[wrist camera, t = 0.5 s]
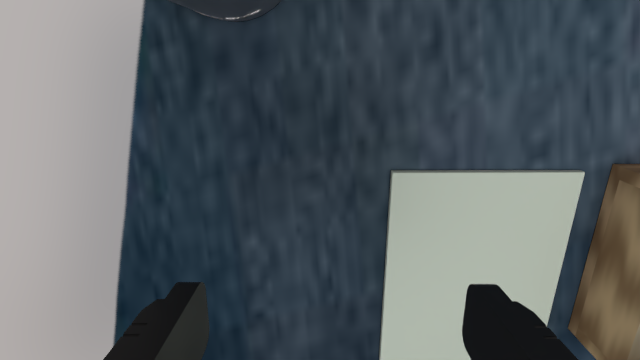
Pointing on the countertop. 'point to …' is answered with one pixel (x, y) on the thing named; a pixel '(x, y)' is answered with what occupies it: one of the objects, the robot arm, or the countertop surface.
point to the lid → (635, 347)
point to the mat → (469, 250)
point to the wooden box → (612, 272)
